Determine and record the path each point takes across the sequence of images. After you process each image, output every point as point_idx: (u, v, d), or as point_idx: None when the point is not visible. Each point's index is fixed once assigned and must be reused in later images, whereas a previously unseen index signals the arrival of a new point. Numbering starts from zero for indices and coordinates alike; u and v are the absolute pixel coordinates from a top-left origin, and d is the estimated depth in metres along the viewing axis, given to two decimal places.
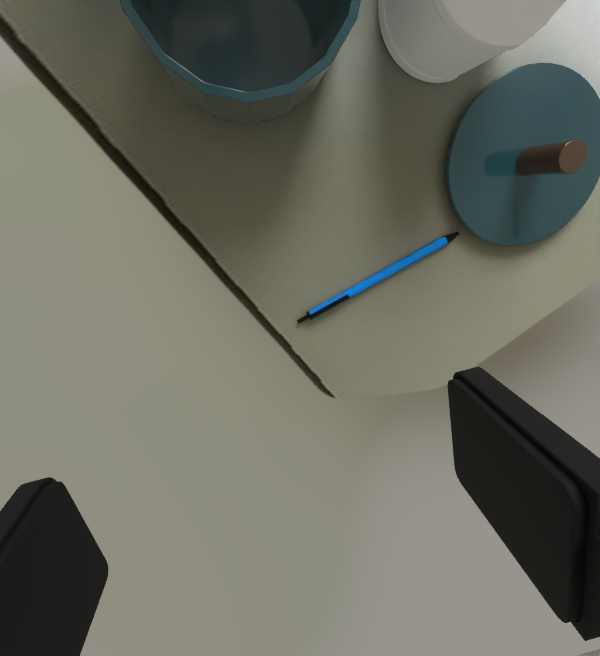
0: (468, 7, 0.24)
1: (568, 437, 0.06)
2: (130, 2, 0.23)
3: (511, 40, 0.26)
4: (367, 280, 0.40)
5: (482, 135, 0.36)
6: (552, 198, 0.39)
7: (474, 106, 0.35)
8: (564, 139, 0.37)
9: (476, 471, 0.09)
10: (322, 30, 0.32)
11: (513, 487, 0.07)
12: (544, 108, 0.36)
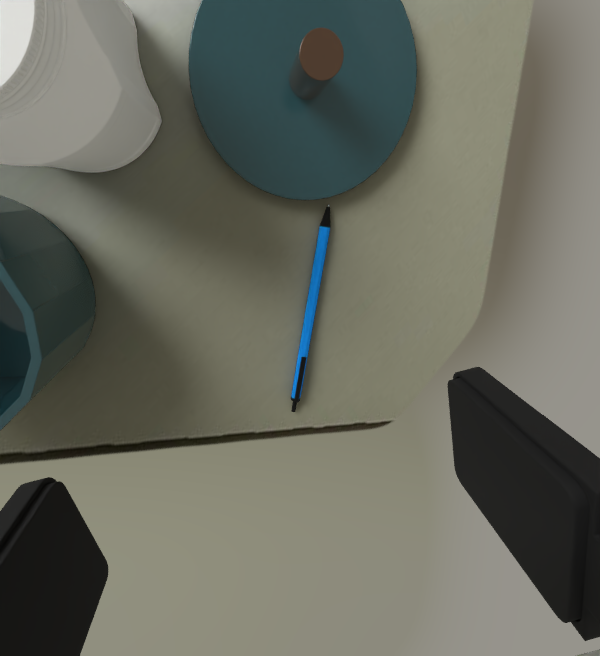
0: (37, 148, 0.18)
1: (568, 437, 0.06)
2: None
3: (107, 105, 0.19)
4: (304, 329, 0.34)
5: (239, 122, 0.28)
6: (372, 72, 0.28)
7: (201, 112, 0.27)
8: (313, 14, 0.26)
9: (476, 471, 0.09)
10: None
11: (513, 487, 0.07)
12: (260, 21, 0.26)
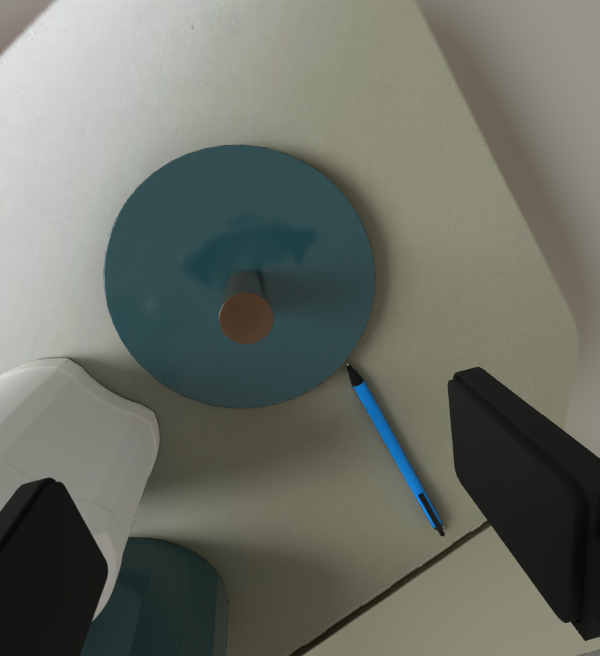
0: None
1: (568, 437, 0.06)
2: None
3: (106, 555, 0.17)
4: (402, 472, 0.31)
5: (216, 371, 0.25)
6: (301, 234, 0.23)
7: (179, 389, 0.25)
8: (208, 236, 0.22)
9: (476, 471, 0.09)
10: None
11: (513, 487, 0.07)
12: (168, 283, 0.23)
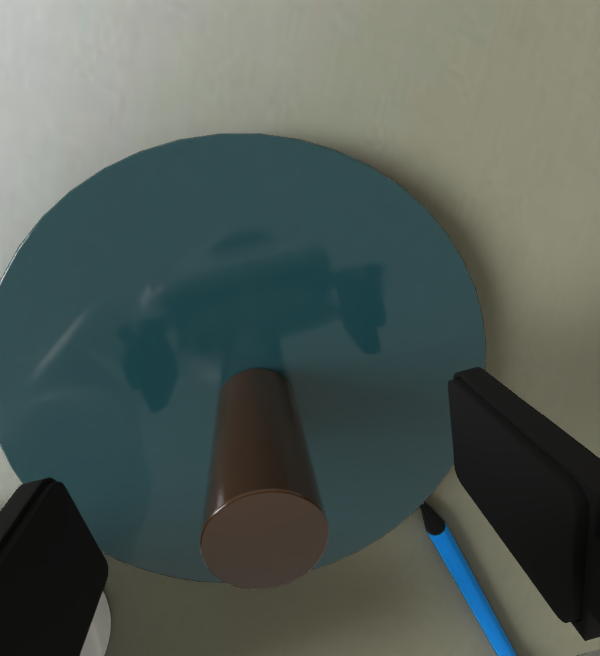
0: None
1: (568, 437, 0.06)
2: None
3: None
4: (492, 643, 0.20)
5: None
6: (362, 303, 0.12)
7: (139, 562, 0.14)
8: (187, 311, 0.12)
9: (476, 471, 0.09)
10: None
11: (513, 487, 0.07)
12: (112, 395, 0.12)
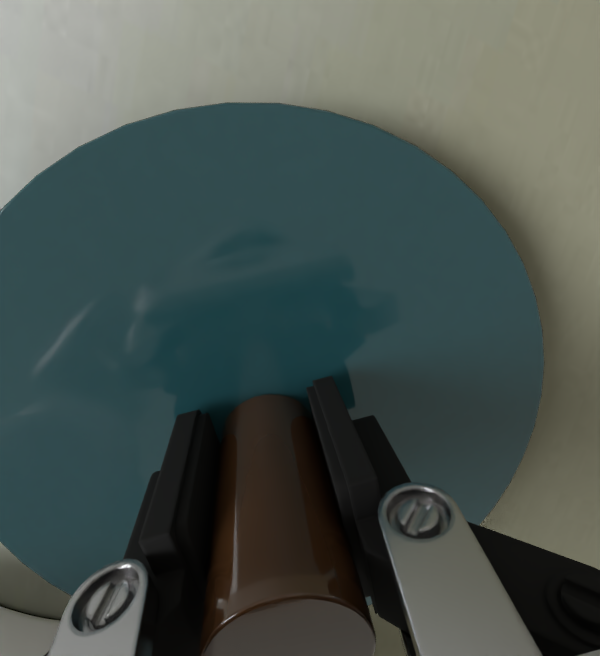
0: None
1: (358, 439, 0.07)
2: None
3: None
4: None
5: None
6: (399, 316, 0.10)
7: None
8: (185, 326, 0.09)
9: None
10: None
11: (331, 482, 0.08)
12: (94, 427, 0.10)
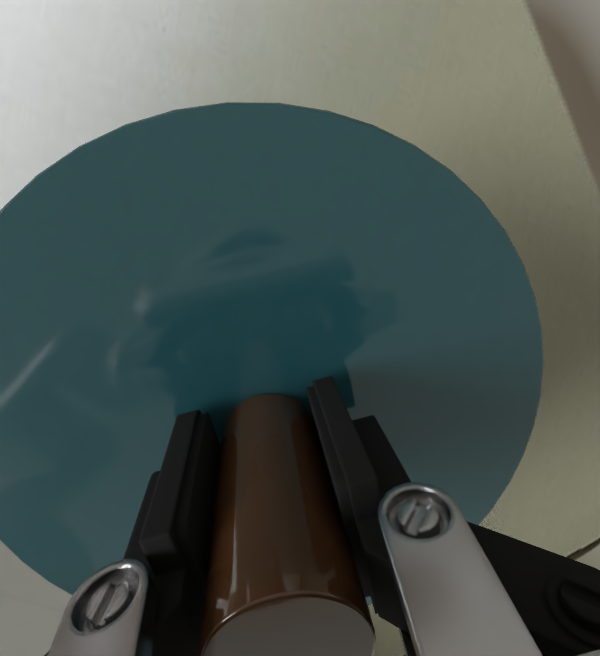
0: None
1: (358, 439, 0.07)
2: None
3: None
4: None
5: None
6: (398, 315, 0.10)
7: None
8: (185, 325, 0.09)
9: None
10: None
11: (331, 482, 0.08)
12: (95, 426, 0.10)
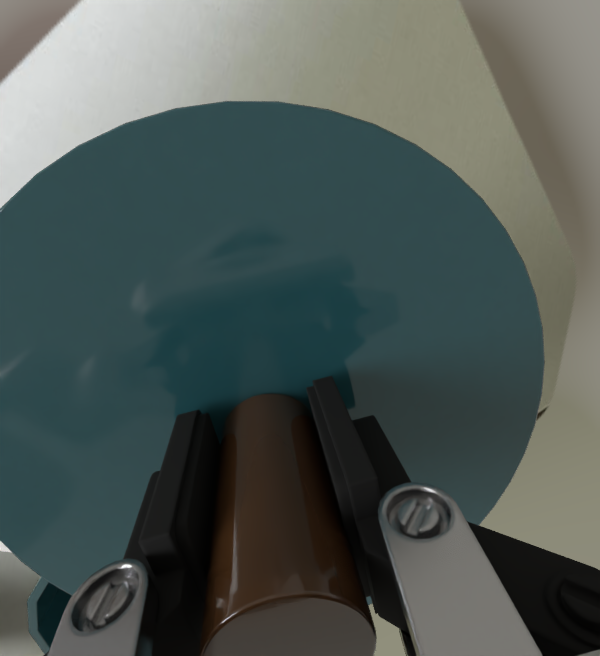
0: None
1: (358, 439, 0.07)
2: None
3: None
4: None
5: None
6: (399, 315, 0.10)
7: None
8: (185, 325, 0.09)
9: None
10: None
11: (331, 482, 0.08)
12: (94, 426, 0.10)
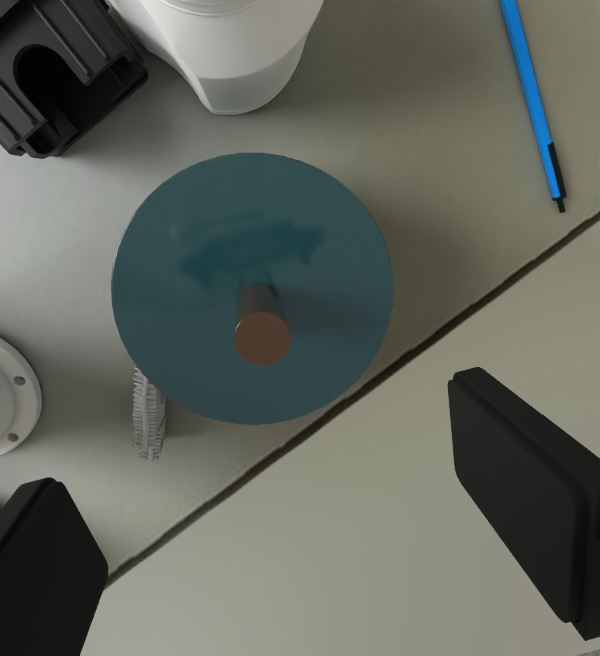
0: (302, 10, 0.17)
1: (568, 437, 0.06)
2: None
3: None
4: (534, 115, 0.30)
5: (226, 386, 0.24)
6: (318, 246, 0.22)
7: (189, 405, 0.24)
8: (221, 248, 0.21)
9: (476, 471, 0.09)
10: None
11: (513, 487, 0.07)
12: (178, 297, 0.22)
